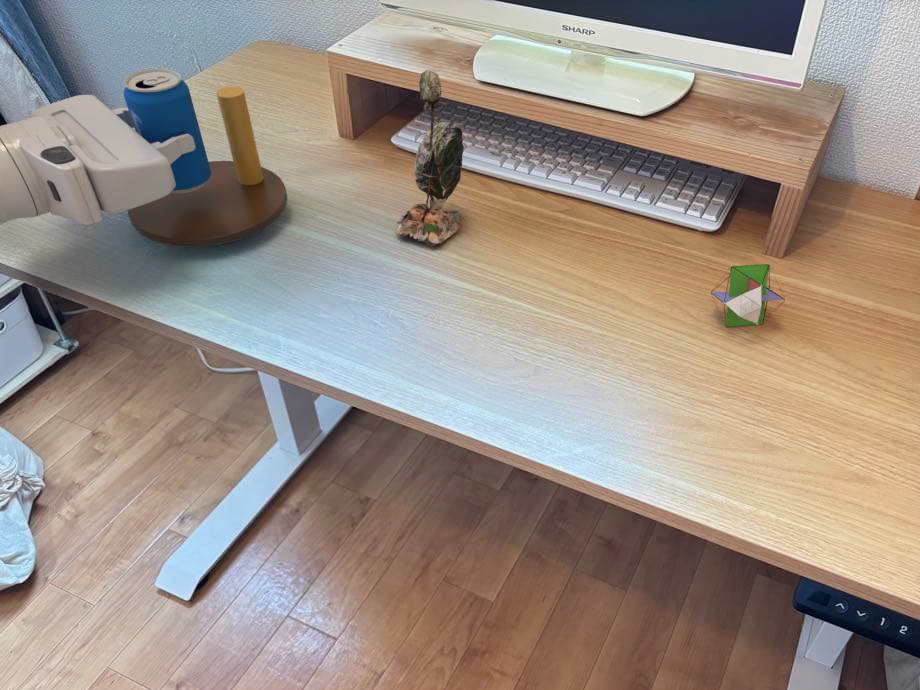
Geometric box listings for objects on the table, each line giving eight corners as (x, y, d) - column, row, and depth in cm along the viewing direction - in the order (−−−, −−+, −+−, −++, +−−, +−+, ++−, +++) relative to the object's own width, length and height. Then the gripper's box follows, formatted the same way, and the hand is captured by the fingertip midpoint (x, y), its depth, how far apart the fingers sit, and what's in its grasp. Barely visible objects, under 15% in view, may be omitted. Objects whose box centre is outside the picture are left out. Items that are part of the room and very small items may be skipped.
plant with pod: (486, 213, 100) (485, 51, 86) (432, 255, 93) (421, 86, 79) (434, 194, 103) (425, 34, 88) (378, 233, 96) (358, 66, 81)
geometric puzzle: (700, 276, 88) (725, 252, 80) (759, 273, 89) (789, 249, 81) (708, 339, 87) (733, 321, 80) (767, 335, 88) (798, 317, 80)
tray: (100, 205, 94) (61, 107, 86) (231, 153, 104) (207, 61, 96) (185, 266, 86) (151, 165, 78) (318, 204, 96) (301, 108, 88)
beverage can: (142, 181, 91) (107, 77, 83) (193, 163, 95) (165, 61, 87) (172, 203, 88) (139, 97, 80) (224, 183, 92) (197, 80, 84)
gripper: (20, 154, 88) (143, 120, 95) (95, 233, 78) (226, 189, 85) (-4, 98, 83) (126, 67, 91) (71, 175, 73) (211, 133, 80)
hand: (175, 126), depth 88 cm, fingers closed on beverage can, 6 cm apart
